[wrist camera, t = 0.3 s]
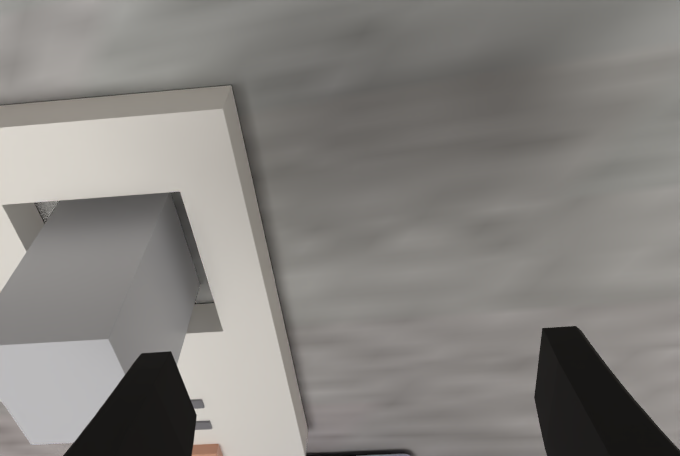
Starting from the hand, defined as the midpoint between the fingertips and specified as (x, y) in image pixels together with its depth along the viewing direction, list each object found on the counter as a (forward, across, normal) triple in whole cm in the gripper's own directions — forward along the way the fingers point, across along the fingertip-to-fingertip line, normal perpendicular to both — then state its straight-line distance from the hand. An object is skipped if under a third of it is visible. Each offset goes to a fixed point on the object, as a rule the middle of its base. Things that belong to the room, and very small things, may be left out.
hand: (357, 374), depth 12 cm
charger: (+10, +9, +4) cm, 14 cm away
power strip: (+10, +9, +7) cm, 15 cm away
